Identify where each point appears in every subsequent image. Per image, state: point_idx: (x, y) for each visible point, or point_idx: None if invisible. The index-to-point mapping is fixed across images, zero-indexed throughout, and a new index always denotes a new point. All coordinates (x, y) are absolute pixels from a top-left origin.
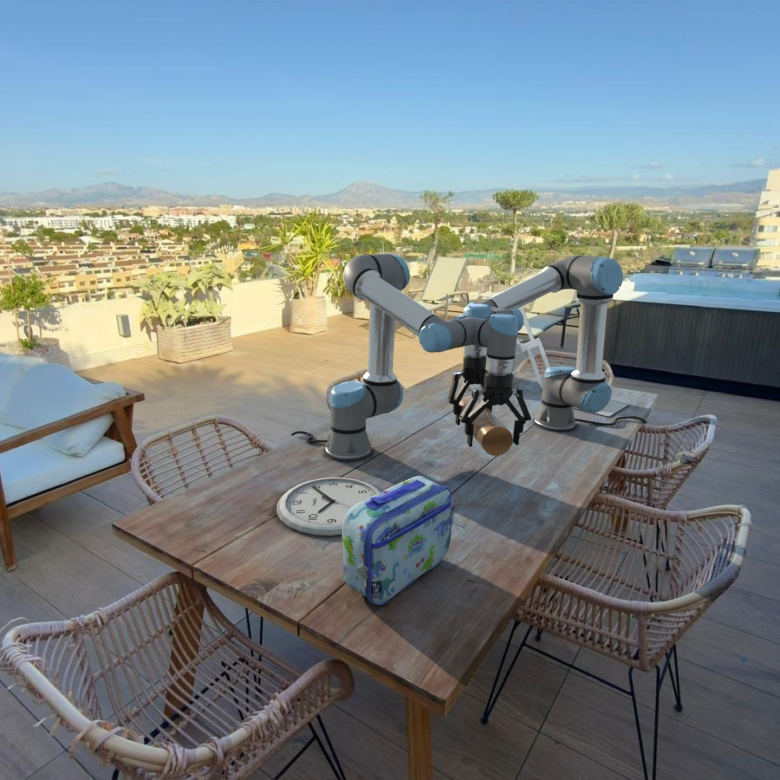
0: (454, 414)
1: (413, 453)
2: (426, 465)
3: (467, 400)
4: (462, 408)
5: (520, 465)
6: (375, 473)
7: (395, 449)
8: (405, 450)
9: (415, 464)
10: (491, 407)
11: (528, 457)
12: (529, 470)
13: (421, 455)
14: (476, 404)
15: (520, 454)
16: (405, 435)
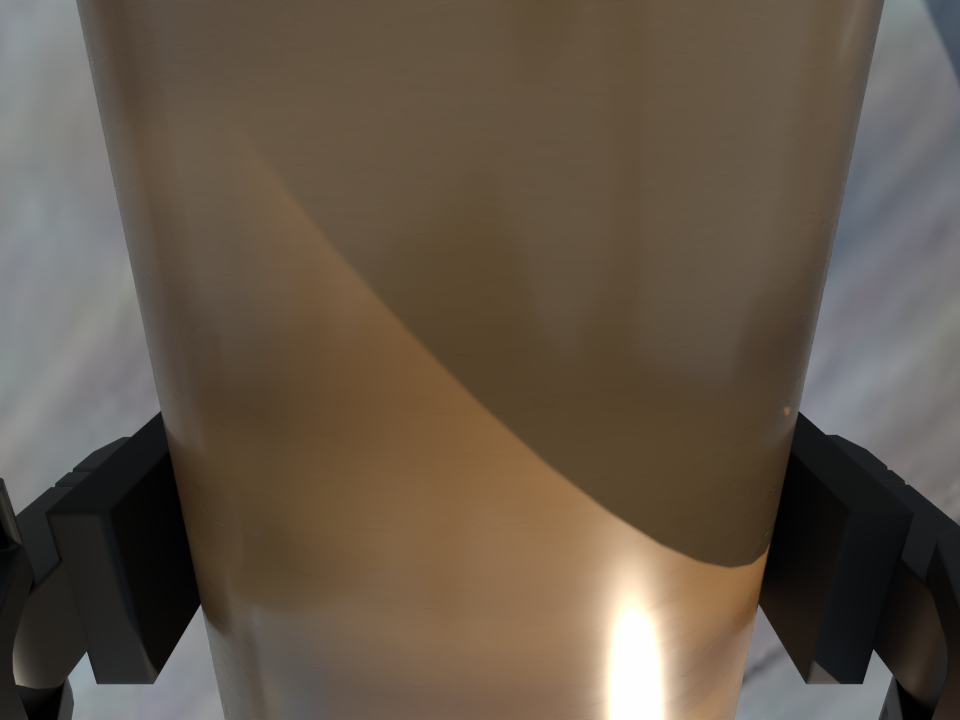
0: (838, 441)
1: (858, 413)
2: (851, 200)
3: (658, 688)
4: (789, 449)
5: (94, 114)
6: None
7: (955, 486)
8: (893, 464)
9: (927, 228)
10: (50, 504)
11: (7, 256)
12: (30, 3)
13: (815, 375)
14: (556, 179)
15: (63, 315)
16: (793, 670)
